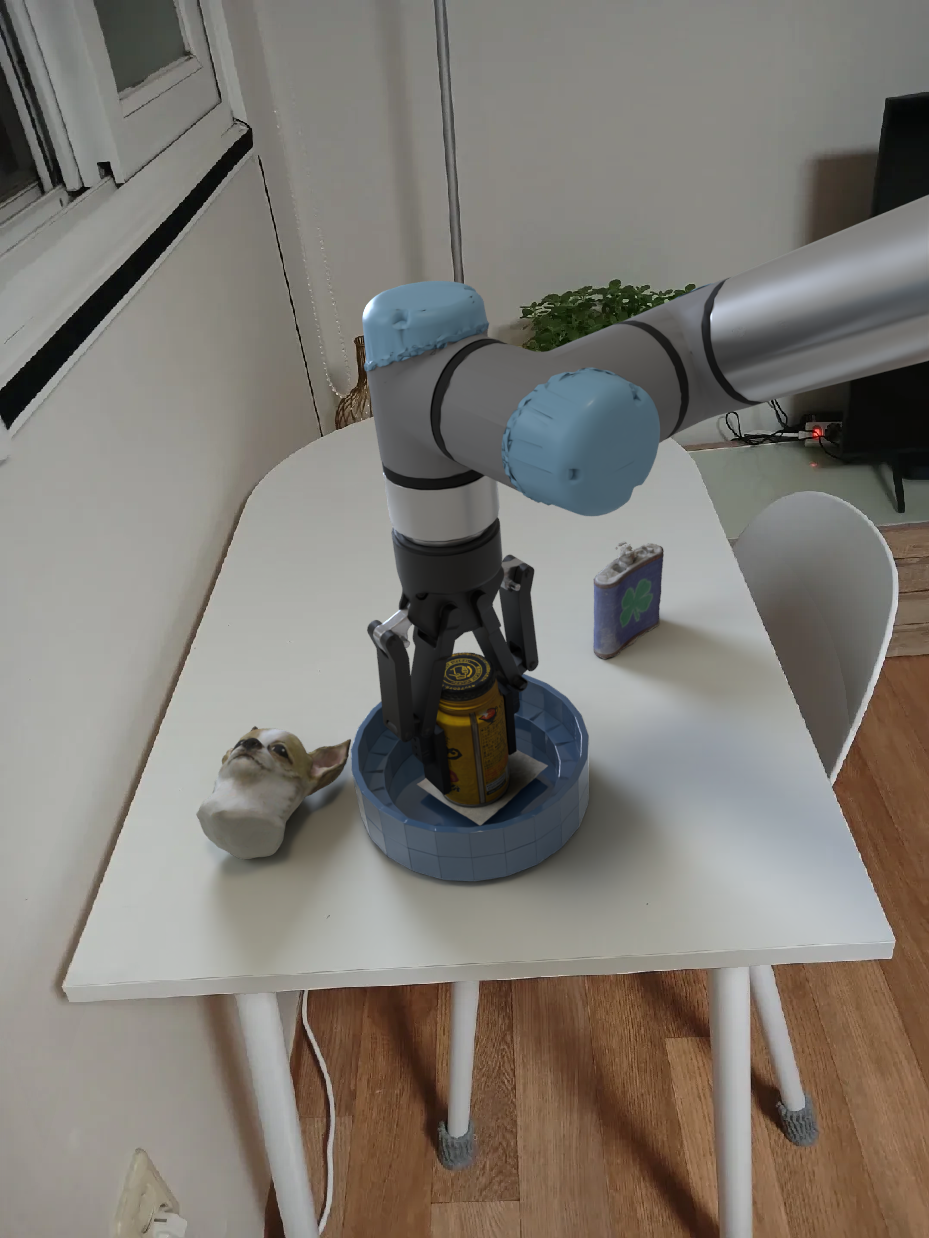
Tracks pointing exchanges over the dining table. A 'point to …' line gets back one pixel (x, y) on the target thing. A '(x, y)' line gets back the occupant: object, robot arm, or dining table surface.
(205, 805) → the ceramic sculpture
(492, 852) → the basin
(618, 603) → the flask
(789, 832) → the dining table surface
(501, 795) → the condiment
